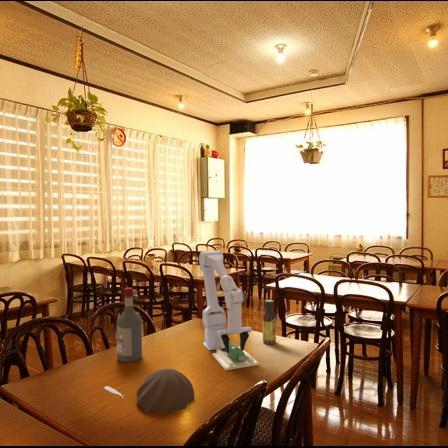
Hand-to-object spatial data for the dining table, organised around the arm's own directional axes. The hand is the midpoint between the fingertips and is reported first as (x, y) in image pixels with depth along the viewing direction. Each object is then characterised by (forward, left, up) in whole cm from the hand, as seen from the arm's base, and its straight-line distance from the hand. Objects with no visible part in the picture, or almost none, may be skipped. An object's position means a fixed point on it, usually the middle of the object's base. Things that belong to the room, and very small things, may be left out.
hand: (234, 351), depth 161 cm
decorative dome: (+22, -33, -4) cm, 40 cm away
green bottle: (+2, 0, -3) cm, 3 cm away
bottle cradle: (0, 0, -4) cm, 4 cm away
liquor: (-18, -41, -4) cm, 45 cm away
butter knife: (+18, -45, -4) cm, 49 cm away
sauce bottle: (-14, +23, -4) cm, 27 cm away
